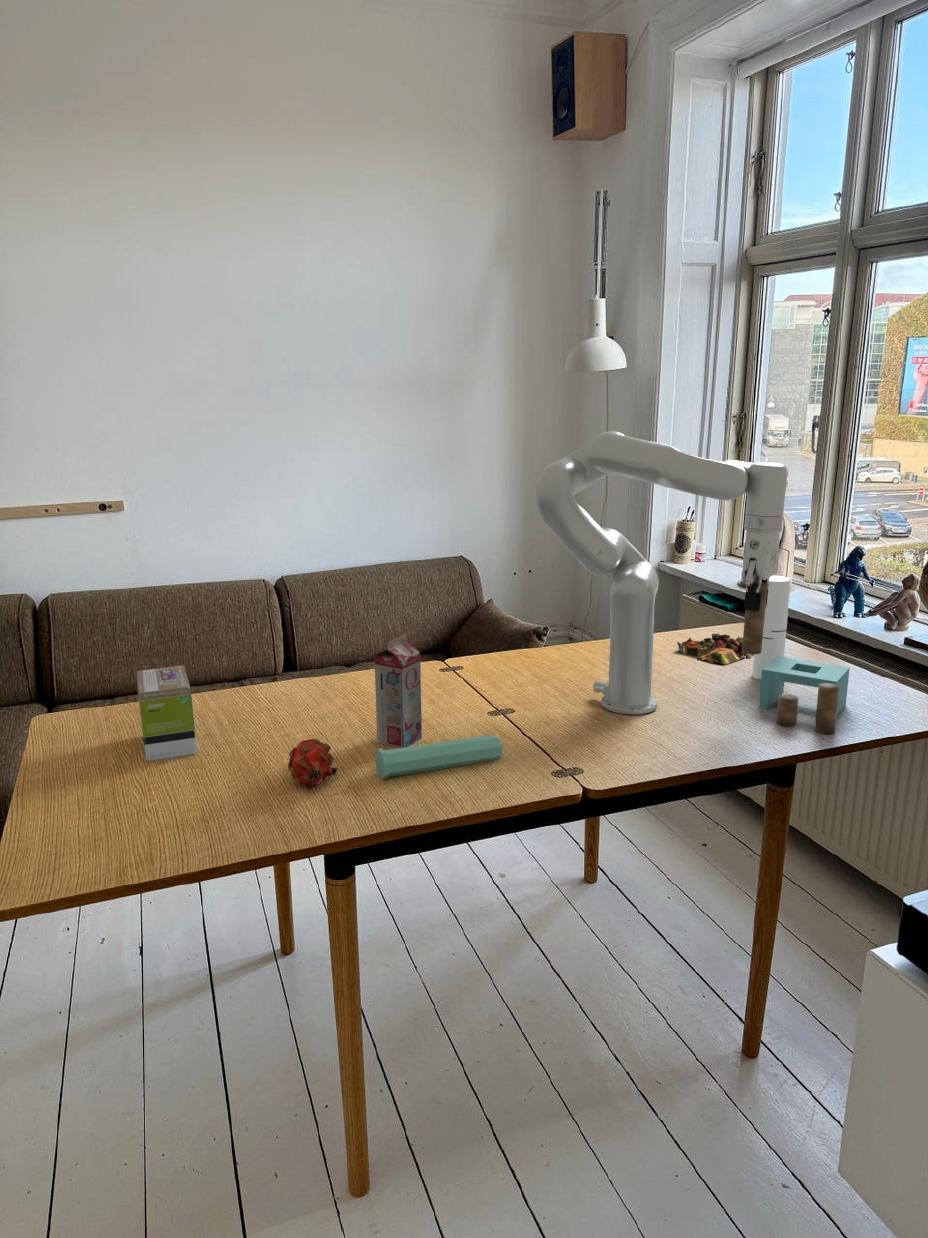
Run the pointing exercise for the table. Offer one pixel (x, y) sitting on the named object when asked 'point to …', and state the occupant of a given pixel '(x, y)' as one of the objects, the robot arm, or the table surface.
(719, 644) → the food
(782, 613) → the cylindrical container
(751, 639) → the tall pin
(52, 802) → the table surface
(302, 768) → the dragon fruit
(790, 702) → the short pin
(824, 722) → the medium pin
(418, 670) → the juice carton
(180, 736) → the tea box
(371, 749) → the table surface
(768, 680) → the teal bridge
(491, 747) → the container
